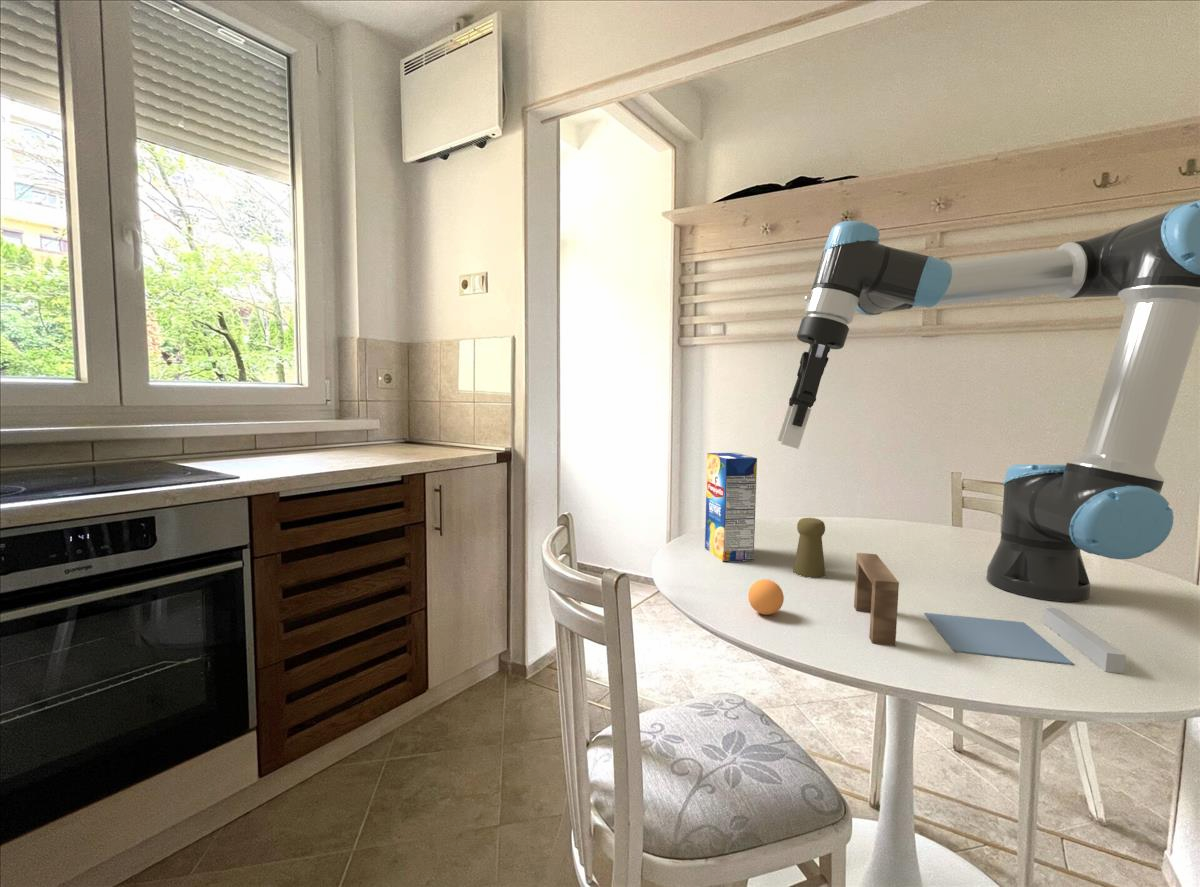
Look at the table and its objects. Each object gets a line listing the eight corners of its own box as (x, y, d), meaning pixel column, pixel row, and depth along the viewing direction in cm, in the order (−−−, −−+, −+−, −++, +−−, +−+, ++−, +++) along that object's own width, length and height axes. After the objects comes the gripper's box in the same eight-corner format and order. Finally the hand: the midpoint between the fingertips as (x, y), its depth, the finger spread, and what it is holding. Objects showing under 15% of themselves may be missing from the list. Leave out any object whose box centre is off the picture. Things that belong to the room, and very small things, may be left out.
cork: (828, 579, 108) (830, 523, 107) (795, 576, 110) (797, 521, 109) (822, 569, 114) (824, 516, 113) (791, 567, 115) (793, 514, 114)
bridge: (873, 608, 94) (876, 554, 93) (895, 645, 80) (898, 582, 79) (854, 606, 94) (856, 552, 94) (872, 643, 80) (875, 580, 80)
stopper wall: (1058, 624, 88) (1059, 609, 87) (1123, 673, 72) (1125, 655, 72) (1043, 623, 88) (1044, 607, 88) (1105, 671, 73) (1107, 652, 72)
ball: (782, 608, 93) (783, 576, 93) (784, 621, 88) (785, 587, 87) (747, 605, 94) (748, 573, 94) (747, 618, 89) (748, 584, 89)
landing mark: (1023, 623, 88) (1024, 622, 88) (1073, 665, 74) (1073, 663, 74) (924, 613, 91) (924, 612, 91) (954, 651, 78) (954, 650, 78)
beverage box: (723, 562, 119) (726, 458, 117) (704, 548, 129) (707, 453, 127) (753, 560, 120) (757, 458, 118) (732, 547, 131) (735, 452, 129)
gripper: (797, 327, 105) (763, 435, 108) (810, 300, 81) (766, 441, 84) (838, 336, 104) (803, 447, 106) (864, 312, 80) (817, 455, 82)
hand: (786, 444), depth 95 cm, fingers open, 13 cm apart
